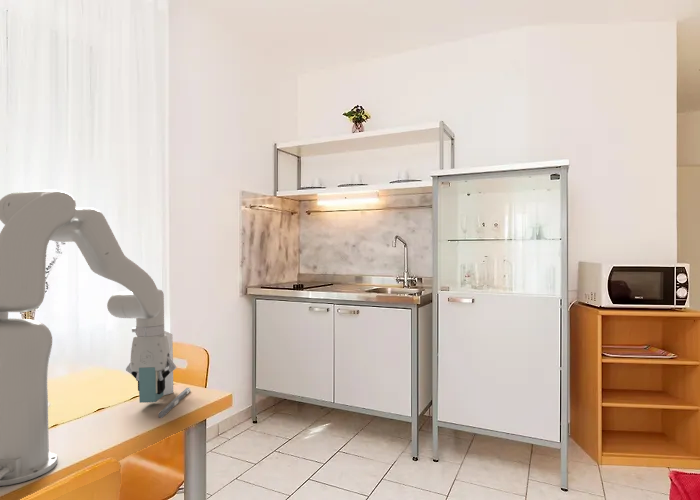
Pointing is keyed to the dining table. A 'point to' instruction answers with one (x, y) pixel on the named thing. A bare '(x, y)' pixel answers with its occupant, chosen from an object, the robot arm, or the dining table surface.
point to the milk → (170, 377)
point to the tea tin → (148, 385)
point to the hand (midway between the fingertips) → (151, 392)
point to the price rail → (173, 402)
